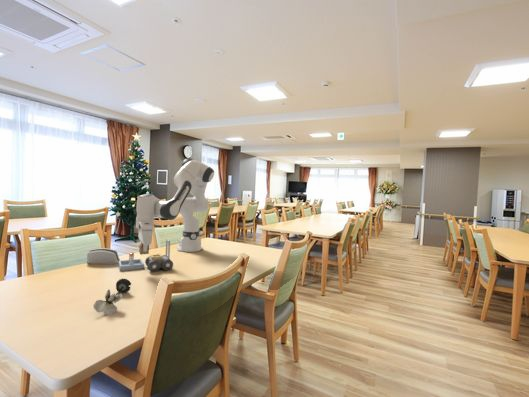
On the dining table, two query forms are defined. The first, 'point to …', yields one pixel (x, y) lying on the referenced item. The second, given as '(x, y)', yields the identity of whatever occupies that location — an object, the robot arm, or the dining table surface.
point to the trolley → (160, 260)
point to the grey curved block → (103, 256)
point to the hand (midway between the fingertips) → (144, 250)
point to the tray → (125, 265)
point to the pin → (131, 258)
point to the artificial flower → (112, 298)
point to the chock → (142, 250)
